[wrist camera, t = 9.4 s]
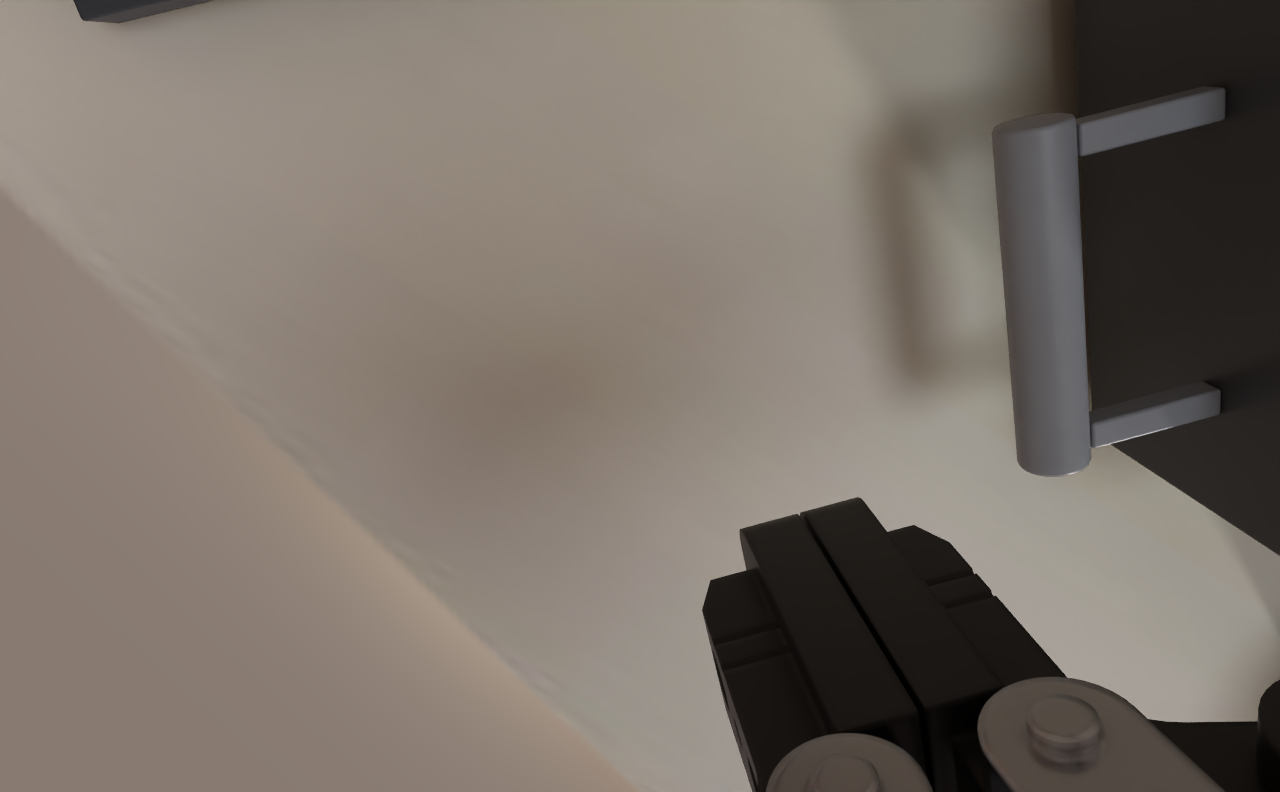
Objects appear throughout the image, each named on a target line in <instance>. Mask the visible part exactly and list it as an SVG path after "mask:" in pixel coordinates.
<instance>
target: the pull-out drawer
mask: <svg viewBox="0 0 1280 792" xmlns="http://www.w3.org/2000/svg"><path fill="white" fill-rule="evenodd" d="M1075 17H1076V41H1077V64H1078V88H1079V112H1080V118H1078V119H1076V118H1075V117H1074V115H1072V114H1067V113H1046V114H1038V115H1032V116H1026V117H1021V118H1017V119H1013V120H1010V121H1007V122H1004V123H1002V124H1000V125H998V126H996V127H994V128H993V131H992V142H993V155H994V168H995V181H996V193H997V206H998V219H999V232H1000V245H1001V257H1002V270H1003V283H1004V296H1005V309H1006V321H1007V334H1008V347H1009V360H1010V373H1011V385H1012V398H1013V411H1014V424H1015V437H1016V449H1017V461H1018V463H1019V465H1020V466H1021V467H1022V468H1023V469H1024V470H1025V471H1027V472H1030V473H1032V474H1035V475H1040V476H1048V477H1059V476H1067V475H1071V474H1075V473H1077V472H1080V471H1082V470H1083V469H1085V468H1086V467H1087V466H1088V464H1089V462H1090V460H1091V447H1092V448H1099V447H1102V446H1106V445H1110V444H1111V445H1112V446H1114V447H1115V448H1117V449H1119V450H1120V451H1122V452H1123V453H1125V454H1126V455H1128V456H1129V457H1131V458H1132V459H1134V460H1135V461H1137V462H1138V463H1140V464H1141V465H1143V466H1144V467H1146V468H1147V469H1149V470H1150V471H1152V472H1153V473H1155V474H1156V475H1158V476H1160V477H1161V478H1163V479H1164V480H1166V481H1167V482H1169V483H1170V484H1172V485H1173V486H1175V487H1176V488H1178V489H1179V490H1181V491H1182V492H1184V493H1185V494H1187V495H1188V496H1190V497H1191V498H1193V499H1194V500H1196V501H1197V502H1199V503H1200V504H1202V505H1204V506H1205V507H1207V508H1208V509H1210V510H1211V511H1213V512H1214V513H1216V514H1217V515H1219V516H1220V517H1222V518H1223V519H1225V520H1226V521H1228V522H1229V523H1231V524H1232V525H1234V526H1235V527H1237V528H1238V529H1240V530H1241V531H1243V532H1244V533H1246V534H1248V535H1249V536H1251V537H1252V538H1254V539H1255V540H1257V541H1258V542H1260V543H1261V544H1263V545H1264V546H1266V547H1267V548H1269V549H1270V550H1272V551H1273V552H1275V553H1276V554H1278V555H1279V556H1280V0H1075ZM1078 156H1081V159H1082V182H1083V206H1084V230H1085V253H1086V277H1087V300H1088V324H1089V348H1090V371H1091V395H1092V411H1089V400H1088V378H1087V355H1086V332H1085V309H1084V286H1083V263H1082V241H1081V218H1080V195H1079V172H1078Z"/></svg>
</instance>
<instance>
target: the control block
mask: <svg viewBox="0 0 1280 792" xmlns="http://www.w3.org/2000/svg"><path fill="white" fill-rule="evenodd" d="M209 1H213V0H74V3H75V5H76V7H77V10H78V12H79V14H80V17H81V19H82V20H84V21H95V22H110V23H122V22H126V21H130V20H134V19H138V18H142V17H146V16H151V15H155V14H159V13H163V12H167V11H171V10H176V9H180V8H184V7H188V6H192V5H196V4H200V3H205V2H209Z"/></svg>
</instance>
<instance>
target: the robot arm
mask: <svg viewBox="0 0 1280 792" xmlns="http://www.w3.org/2000/svg"><path fill="white" fill-rule="evenodd" d="M740 541H741V546H742V551H743V556H744V560H745V565H746V571H743V572H739V573H735V574H732V575H728V576H724V577H721V578H717V579H713V580H711V581H710V584H709V588H708V591H707V595H706V598H705V602H704V605H703V609H702V611H703V616H704V620H705V624H706V628H707V632H708V636H709V641H710V645H711V649H712V653H713V657H714V661H715V666H716V670H717V674H718V678H719V682H720V686H721V691H722V695H723V699H724V703H725V707H726V711H727V714H728V717H729V720H730V723H731V726H732V729H733V733H734V736H735V739H736V742H737V744H738V748H739V751H740V754H741V757H742V761H743V764H744V767H745V769H746V772H747V776H748V779H749V782H750V785H751V788H752V792H1280V680H1278V681H1277V682H1275V683H1273V684H1272V685H1271V686H1270V687H1269V688H1268V689H1267V690H1266V691H1265V693H1264V694H1263V696H1262V697H1261V700H1260V703H1259V707H1258V722H1165V721H1157V720H1150V719H1147V718H1146V717H1145V716H1144V715H1143V714H1142V713H1141V712H1140V711H1139V710H1138V709H1137V708H1135V707H1134V706H1133V705H1132V704H1131V703H1129V702H1128V701H1127V700H1126V699H1124V698H1122V697H1121V696H1119V695H1118V694H1116V693H1114V692H1113V691H1110V690H1108V689H1106V688H1104V687H1101V686H1099V685H1096V684H1093V683H1090V682H1086V681H1082V680H1077V679H1072V678H1067V677H1066V676H1065V674H1064V673H1063V672H1062V671H1061V670H1060V669H1059V668H1058V666H1057V665H1056V664H1055V663H1054V662H1053V661H1052V660H1051V658H1050V657H1049V656H1048V655H1047V654H1046V653H1045V652H1044V650H1043V649H1042V648H1041V647H1040V646H1039V645H1038V643H1037V642H1036V641H1035V640H1034V639H1033V638H1032V637H1031V635H1030V634H1029V633H1028V632H1027V631H1026V630H1025V629H1024V627H1023V626H1022V625H1021V624H1020V623H1019V622H1018V621H1017V619H1016V618H1015V617H1014V616H1013V615H1012V614H1011V612H1010V611H1009V610H1008V609H1007V608H1006V607H1005V606H1004V604H1003V603H1002V602H1001V601H1000V600H999V599H998V598H997V596H993V595H992V593H991V590H990V588H989V587H988V586H987V585H986V584H985V583H984V581H983V580H982V579H981V578H980V577H979V576H978V575H977V574H974V573H973V570H972V568H971V567H970V565H969V564H968V563H967V562H966V561H965V560H964V559H963V557H962V556H961V555H960V554H959V553H958V552H957V551H956V549H955V548H954V547H953V546H952V545H951V544H950V543H949V542H947V541H945V540H943V539H941V538H939V537H937V536H935V535H933V534H931V533H929V532H927V531H925V530H923V529H921V528H919V527H917V526H915V525H912V526H908V527H904V528H901V529H897V530H893V531H890V532H887V531H886V530H885V528H884V527H883V526H882V525H881V523H880V522H879V521H878V519H877V518H876V517H875V515H874V514H873V513H872V511H871V510H870V509H869V508H868V506H867V505H866V504H865V502H864V501H863V500H862V499H861V498H859V497H857V498H853V499H849V500H846V501H842V502H838V503H835V504H831V505H827V506H823V507H820V508H816V509H812V510H808V511H805V512H801V513H800V516H799V515H798V514H794V515H791V516H787V517H783V518H780V519H776V520H772V521H768V522H765V523H761V524H757V525H754V526H750V527H746V528H742V529H740Z"/></svg>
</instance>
